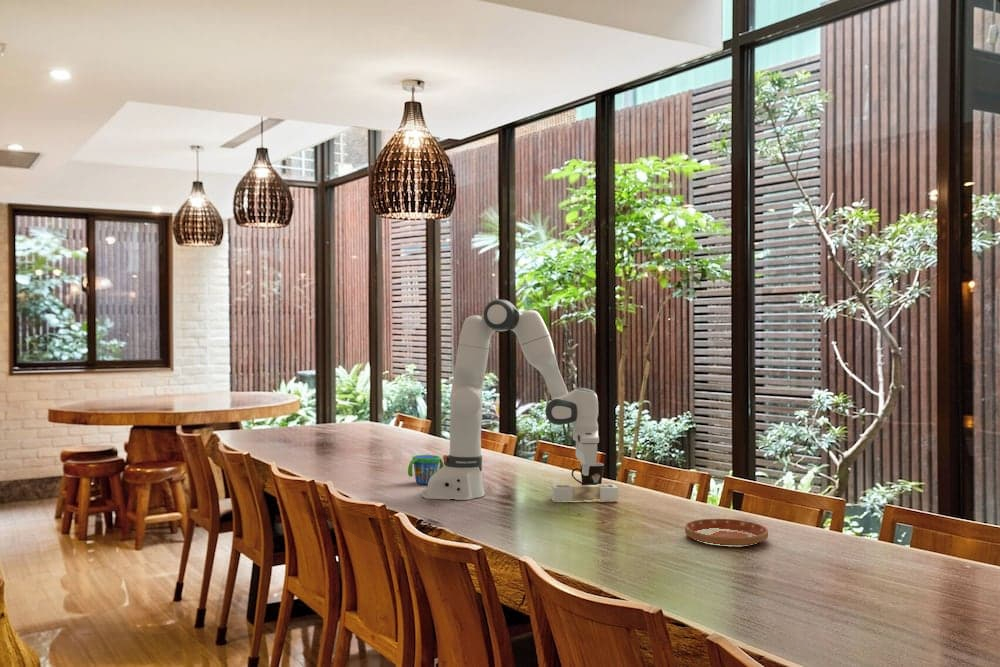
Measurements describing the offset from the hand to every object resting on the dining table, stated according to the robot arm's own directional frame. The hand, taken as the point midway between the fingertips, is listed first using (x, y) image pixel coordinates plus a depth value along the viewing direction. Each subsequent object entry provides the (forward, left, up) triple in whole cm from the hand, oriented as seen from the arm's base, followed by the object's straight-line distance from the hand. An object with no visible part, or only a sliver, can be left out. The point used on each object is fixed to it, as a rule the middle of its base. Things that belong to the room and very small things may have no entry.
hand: (585, 474), depth 294 cm
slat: (0, 0, -8) cm, 8 cm away
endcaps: (0, 0, -9) cm, 9 cm away
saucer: (+31, -54, -9) cm, 63 cm away
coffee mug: (+4, +17, -9) cm, 19 cm away
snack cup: (-55, +34, -9) cm, 65 cm away
